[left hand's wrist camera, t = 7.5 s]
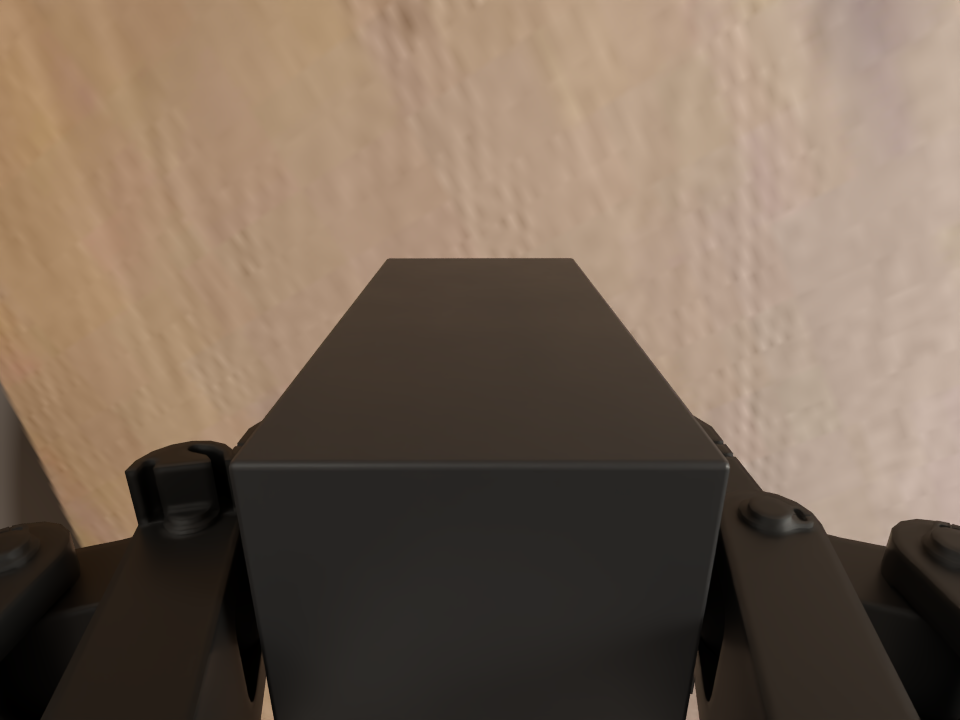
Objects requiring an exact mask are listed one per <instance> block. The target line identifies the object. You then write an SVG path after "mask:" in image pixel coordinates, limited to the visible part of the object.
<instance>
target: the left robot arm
mask: <svg viewBox="0 0 960 720" xmlns="http://www.w3.org/2000/svg"><path fill="white" fill-rule="evenodd" d="M694 417H695V416H694ZM695 419H696V420H697V421H698V422H699V424H700V425H701V426H702V428H703V429H704V430H705V432H706V433H707V434H708V436H709V437H710V438H711V439H712V441H713V442H714V443H715V445H716V446H717V447H718V449H719V450H720V451H721V452H722V454H723V455H724V456H725V458H726V459H727V460H728V462H729V465H730V472H729V477H728V483H727V489H726V494H725V500H724V506H723V511H722V517H721V523H720V528H719V534H718V540H717V545H716V551H715V556H714V562H713V568H712V573H711V579H710V585H709V590H708V596H707V602H706V607H705V613H704V619H703V624H702V630H701V636H700V641H699V647H698V653H697V658H696V664H695V670H694V675H693V681H692V686H691V692H690V694H692V693H693V688H694V682H695V688H696V696H697V703H698V711H699V719H700V720H960V526H958V525H954V524H952V525H950V523H946V522H941V521H931V520H922V519H913V520H907V521H901V522H899V523H898V524H897V525H896V526H894V527H893V528H892V530H891V533H890V536H889V539H888V543H887V546H880V545H875V544H870V543H865V542H860V541H855V540H850V539H845V538H840V537H836V536H832V535H828V534H826V532H825V530H824V528H823V526H822V524H821V523H820V522H819V520H818V519H817V518H816V517H815V516H814V514H813V513H812V512H810V511H809V510H807V509H806V508H804V507H803V506H801V505H800V504H798V503H797V502H795V501H792V500H790V499H787V498H785V497H783V496H780V495H778V494H773V493H768V492H764V491H762V489H761V488H760V487H759V486H758V484H757V483H756V482H755V481H754V479H753V478H752V477H751V475H750V474H749V473H748V472H747V470H746V469H745V468H744V467H743V465H742V464H741V463H740V462H739V460H738V459H737V458H736V457H733V453H732V452H731V450H730V449H729V448H728V447H727V445H726V444H723V440H722V439H721V438H720V436H719V435H718V434H717V433H716V431H715V430H714V429H713V428H712V427H711V426H710V425H708V424H707V423H705V422H703V421H702V420H700V419H698V418H697V417H695ZM261 422H262V421H261ZM261 422H259V423H257V424H256V425H254V426H253V427H251V428H249V429H248V431H247V432H246V433H245V434H244V436H243V437H242V438H241V439H240V441H239V442H238V443H237V446H235V447H234V448H233V450H232V449H231V448H230V447H228V446H227V445H226V444H223V443H218V442H214V441H190V442H184V443H179V444H173V445H170V446H167V447H164V448H161V449H158V450H155V451H152V452H150V453H149V454H147V455H145V456H143V457H141V458H140V459H138V460H136V461H135V462H134V463H133V464H132V465H131V466H130V467H129V468H128V469H127V470H126V471H125V475H126V479H127V482H128V486H129V490H130V494H131V498H132V502H133V506H134V510H135V513H136V517H137V521H138V527H137V529H136V531H135V533H134V535H133V537H131V538H127V539H123V540H119V541H114V542H109V543H104V544H99V545H94V546H88V547H83V548H78V549H75V547H74V544H73V541H72V538H71V535H70V531H69V530H67V529H66V528H65V527H64V526H62V525H61V524H57V523H50V522H36V523H27V524H19V525H14V526H12V527H10V528H9V527H6V528H3V529H0V720H261V713H262V705H263V697H264V689H265V681H266V672H265V666H264V661H263V655H262V650H261V644H260V639H259V633H258V628H257V622H256V617H255V611H254V605H253V600H252V594H251V589H250V583H249V578H248V572H247V567H246V561H245V556H244V550H243V545H242V539H241V534H240V528H239V523H238V517H237V512H236V506H235V500H234V495H233V489H232V484H231V478H230V473H229V465H230V462H231V460H232V459H233V458H234V457H235V455H236V454H237V453H238V451H239V450H240V449H241V447H242V446H243V445H244V444H245V442H246V441H247V440H248V438H249V437H250V436H251V435H252V433H253V432H254V431H255V429H256V428H257V427H258V426H259V424H260V423H261Z"/></svg>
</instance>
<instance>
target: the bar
mask: <svg viewBox="0 0 960 720" xmlns="http://www.w3.org/2000/svg"><path fill="white" fill-rule="evenodd" d="M729 472H730V465H729V462H728V460H727V459H726V458H725V456H724V455H723V454H722V452H721V451H720V450H719V449H718V447H717V446H716V445H715V443H714V442H713V441H712V439H711V438H710V437H709V436H708V434H707V433H706V432H705V430H704V429H703V428H702V426H701V425H700V424H699V422H698V421H697V420H696V419H695V417H694V416H693V415H692V413H691V412H690V411H689V409H688V408H687V407H686V406H685V404H684V403H683V402H682V400H681V399H680V398H679V396H678V395H677V394H676V392H675V391H674V390H673V389H672V387H671V386H670V385H669V383H668V382H667V381H666V379H665V378H664V377H663V376H662V374H661V373H660V372H659V370H658V369H657V368H656V366H655V365H654V364H653V363H652V361H651V360H650V359H649V357H648V356H647V355H646V353H645V352H644V351H643V349H642V348H641V347H640V346H639V344H638V343H637V342H636V340H635V339H634V338H633V336H632V335H631V334H630V333H629V331H628V330H627V329H626V327H625V326H624V325H623V323H622V322H621V321H620V319H619V318H618V317H617V316H616V314H615V313H614V312H613V310H612V309H611V308H610V306H609V305H608V304H607V303H606V301H605V300H604V299H603V297H602V296H601V295H600V293H599V292H598V291H597V290H596V288H595V287H594V286H593V284H592V283H591V282H590V280H589V279H588V278H587V276H586V275H585V274H584V273H583V271H582V270H581V269H580V267H579V266H578V265H577V263H576V262H575V261H574V260H573V259H571V258H435V259H387V260H386V261H385V263H384V264H383V265H382V267H381V268H380V269H379V271H378V272H377V273H376V274H375V276H374V277H373V278H372V280H371V281H370V282H369V283H368V285H367V286H366V287H365V289H364V290H363V291H362V292H361V294H360V295H359V296H358V298H357V299H356V300H355V302H354V303H353V304H352V305H351V307H350V308H349V309H348V311H347V312H346V313H345V314H344V316H343V317H342V318H341V320H340V321H339V322H338V323H337V325H336V326H335V327H334V329H333V330H332V331H331V333H330V334H329V335H328V336H327V338H326V339H325V340H324V342H323V343H322V344H321V345H320V347H319V348H318V349H317V351H316V352H315V353H314V354H313V356H312V357H311V358H310V360H309V361H308V362H307V364H306V365H305V366H304V367H303V369H302V370H301V371H300V373H299V374H298V375H297V376H296V378H295V379H294V380H293V382H292V383H291V384H290V385H289V387H288V388H287V389H286V391H285V392H284V393H283V395H282V396H281V397H280V398H279V400H278V401H277V402H276V404H275V405H274V406H273V407H272V409H271V410H270V411H269V413H268V414H267V415H266V416H265V418H264V419H263V420H262V422H261V423H260V424H259V426H258V427H257V428H256V429H255V431H254V432H253V433H252V435H251V436H250V437H249V438H248V440H247V441H246V442H245V444H244V445H243V446H242V447H241V449H240V450H239V451H238V453H237V454H236V455H235V457H234V458H233V459H232V460H231V462H230V465H229V473H230V478H231V484H232V489H233V495H234V500H235V506H236V512H237V517H238V523H239V528H240V534H241V539H242V545H243V550H244V556H245V561H246V567H247V572H248V578H249V583H250V589H251V594H252V600H253V605H254V611H255V617H256V622H257V628H258V633H259V639H260V644H261V650H262V655H263V661H264V666H265V672H266V677H267V683H268V688H269V694H270V699H271V705H272V710H273V716H274V720H686V715H687V709H688V703H689V698H690V692H691V686H692V681H693V675H694V670H695V664H696V658H697V653H698V647H699V641H700V636H701V630H702V624H703V619H704V613H705V607H706V602H707V596H708V590H709V585H710V579H711V573H712V568H713V562H714V556H715V551H716V545H717V540H718V534H719V528H720V523H721V517H722V511H723V506H724V500H725V494H726V489H727V483H728V477H729Z"/></svg>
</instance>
